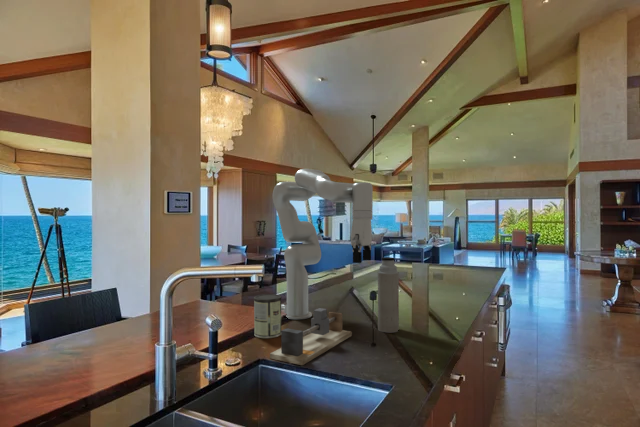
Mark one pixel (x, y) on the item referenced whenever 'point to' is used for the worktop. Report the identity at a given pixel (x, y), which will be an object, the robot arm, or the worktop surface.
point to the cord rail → (310, 342)
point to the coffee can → (267, 316)
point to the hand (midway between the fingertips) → (362, 261)
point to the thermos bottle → (388, 296)
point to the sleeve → (320, 321)
